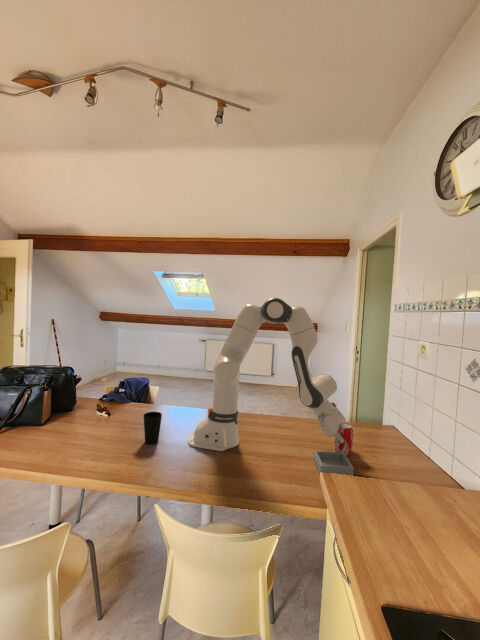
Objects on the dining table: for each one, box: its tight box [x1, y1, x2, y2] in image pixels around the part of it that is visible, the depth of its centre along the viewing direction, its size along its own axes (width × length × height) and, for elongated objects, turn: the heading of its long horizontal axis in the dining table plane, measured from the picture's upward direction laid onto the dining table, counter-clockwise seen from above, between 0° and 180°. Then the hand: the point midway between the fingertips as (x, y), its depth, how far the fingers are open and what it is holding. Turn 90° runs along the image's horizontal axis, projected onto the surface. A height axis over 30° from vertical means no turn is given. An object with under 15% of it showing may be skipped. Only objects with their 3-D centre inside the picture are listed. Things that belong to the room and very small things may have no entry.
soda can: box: [334, 422, 354, 457], centre depth 126 cm, size 7×7×12 cm
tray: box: [313, 449, 355, 476], centre depth 113 cm, size 12×12×4 cm
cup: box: [143, 411, 163, 446], centre depth 128 cm, size 8×8×12 cm
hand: (345, 439), depth 125 cm, fingers open, 6 cm apart
